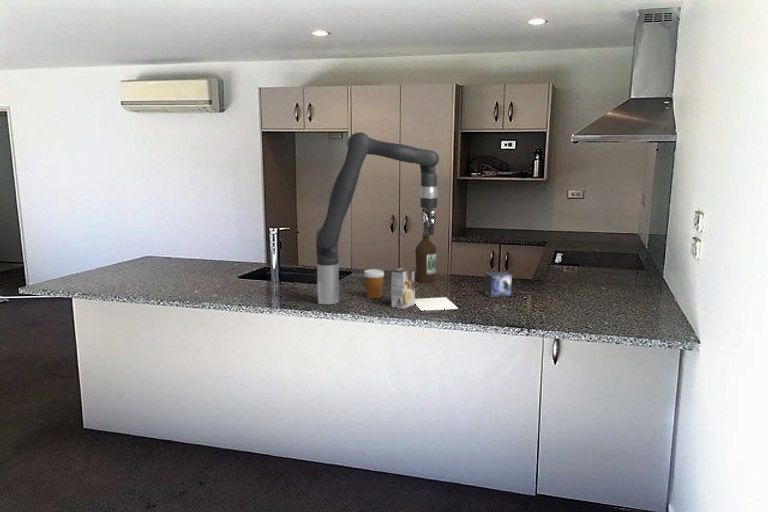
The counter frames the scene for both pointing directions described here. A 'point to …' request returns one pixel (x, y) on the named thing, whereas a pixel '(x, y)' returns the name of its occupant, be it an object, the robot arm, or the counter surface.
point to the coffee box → (403, 287)
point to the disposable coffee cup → (373, 282)
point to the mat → (434, 304)
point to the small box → (498, 284)
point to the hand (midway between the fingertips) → (428, 233)
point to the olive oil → (425, 260)
